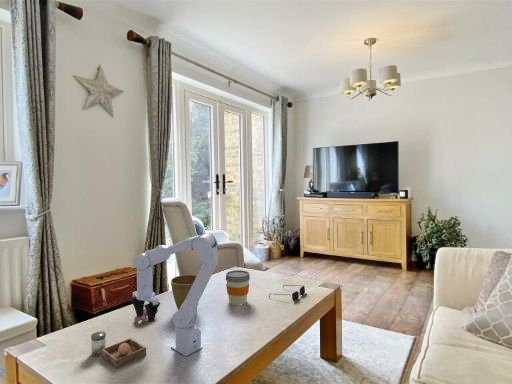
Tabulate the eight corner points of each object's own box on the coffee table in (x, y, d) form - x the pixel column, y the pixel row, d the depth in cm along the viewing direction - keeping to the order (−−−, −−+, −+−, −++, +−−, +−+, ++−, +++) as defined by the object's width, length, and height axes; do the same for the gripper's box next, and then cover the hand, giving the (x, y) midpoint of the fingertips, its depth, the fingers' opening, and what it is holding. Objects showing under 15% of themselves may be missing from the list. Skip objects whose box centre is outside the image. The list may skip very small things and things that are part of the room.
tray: (146, 355, 116) (146, 347, 116) (116, 368, 107) (116, 360, 107) (130, 345, 123) (130, 337, 123) (101, 357, 114) (101, 349, 114)
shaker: (108, 352, 117) (108, 334, 117) (94, 358, 114) (94, 339, 113) (102, 348, 120) (102, 330, 120) (89, 353, 117) (88, 335, 117)
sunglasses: (293, 303, 165) (292, 293, 165) (268, 302, 173) (267, 292, 173) (306, 293, 180) (304, 284, 180) (282, 292, 188) (281, 284, 188)
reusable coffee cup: (251, 298, 172) (251, 270, 172) (248, 307, 160) (248, 277, 159) (228, 297, 174) (228, 269, 173) (223, 306, 161) (223, 276, 161)
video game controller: (137, 327, 141) (141, 315, 139) (132, 320, 144) (136, 308, 141) (156, 319, 149) (160, 308, 147) (151, 313, 151) (155, 301, 149)
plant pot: (164, 314, 151) (164, 281, 150) (185, 304, 164) (184, 273, 163) (189, 321, 144) (188, 286, 143) (208, 309, 157) (208, 277, 157)
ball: (132, 352, 117) (132, 341, 116) (125, 358, 113) (125, 347, 112) (122, 350, 118) (122, 340, 117) (115, 356, 114) (115, 345, 113)
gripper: (165, 285, 122) (165, 320, 122) (143, 278, 131) (144, 310, 131) (148, 290, 116) (149, 326, 117) (127, 282, 125) (128, 316, 126)
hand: (145, 318), depth 123 cm, fingers open, 7 cm apart
